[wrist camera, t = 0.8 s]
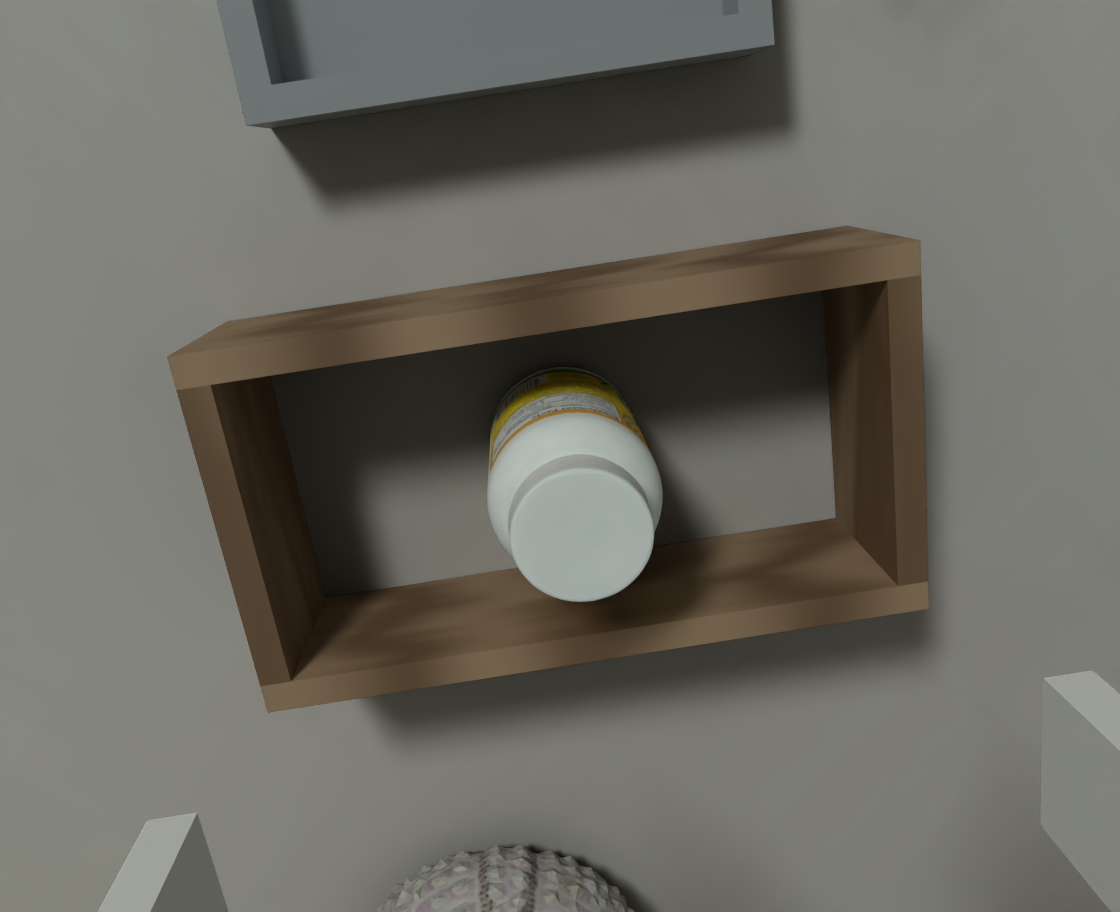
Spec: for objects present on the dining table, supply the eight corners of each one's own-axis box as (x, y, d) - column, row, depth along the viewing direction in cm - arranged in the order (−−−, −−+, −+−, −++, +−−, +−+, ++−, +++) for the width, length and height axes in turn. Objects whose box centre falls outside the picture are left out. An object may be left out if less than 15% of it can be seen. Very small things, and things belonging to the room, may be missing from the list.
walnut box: (848, 225, 33) (920, 240, 27) (862, 537, 36) (928, 608, 31) (227, 321, 32) (167, 356, 27) (305, 624, 36) (267, 712, 30)
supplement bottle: (499, 355, 33) (495, 430, 24) (645, 373, 34) (696, 452, 25) (482, 495, 35) (474, 615, 26) (623, 510, 35) (663, 632, 26)
